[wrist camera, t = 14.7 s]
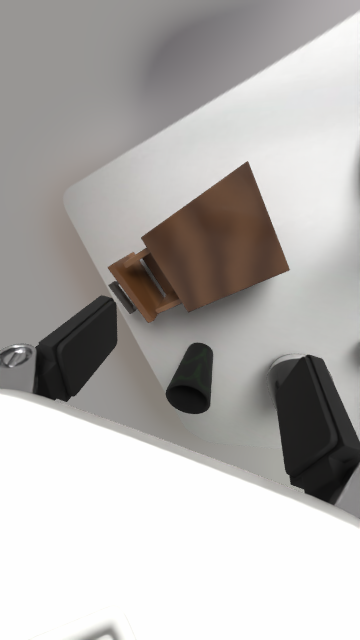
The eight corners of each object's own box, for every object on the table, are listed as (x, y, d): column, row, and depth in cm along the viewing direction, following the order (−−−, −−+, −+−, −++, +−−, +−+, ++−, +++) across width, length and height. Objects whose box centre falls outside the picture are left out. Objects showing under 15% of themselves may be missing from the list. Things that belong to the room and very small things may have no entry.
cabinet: (199, 288, 36) (188, 312, 29) (163, 226, 32) (140, 237, 25) (279, 250, 30) (290, 270, 23) (247, 167, 26) (247, 160, 19)
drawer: (146, 311, 41) (131, 330, 35) (113, 265, 37) (90, 279, 32) (221, 275, 33) (217, 293, 28) (189, 213, 29) (176, 219, 24)
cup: (210, 335, 41) (199, 381, 31) (223, 363, 44) (217, 413, 34) (177, 342, 44) (157, 386, 35) (191, 368, 47) (177, 415, 38)
